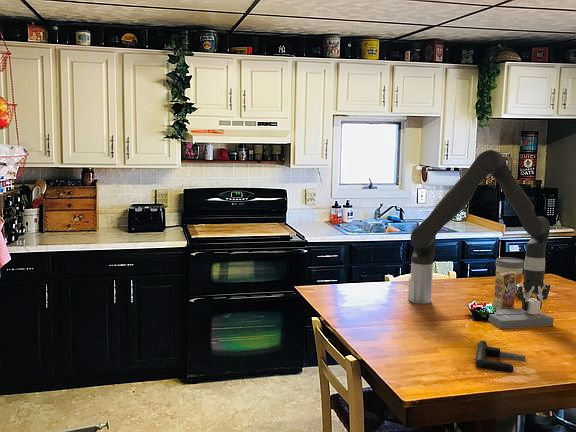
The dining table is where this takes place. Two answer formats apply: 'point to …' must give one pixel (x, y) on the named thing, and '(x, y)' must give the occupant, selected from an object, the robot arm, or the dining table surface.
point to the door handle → (493, 352)
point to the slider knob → (533, 306)
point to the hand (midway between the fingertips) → (531, 310)
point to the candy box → (504, 290)
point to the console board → (519, 319)
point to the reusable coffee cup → (510, 267)
